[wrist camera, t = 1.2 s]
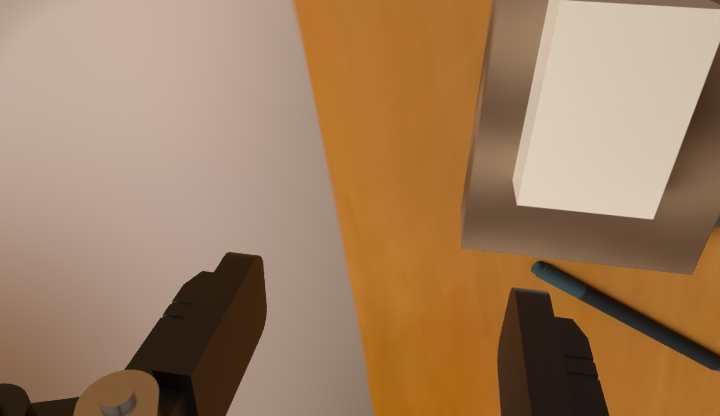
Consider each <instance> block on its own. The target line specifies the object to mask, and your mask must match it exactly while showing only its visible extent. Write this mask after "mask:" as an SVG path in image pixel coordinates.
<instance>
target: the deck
mask: <svg viewBox="0 0 720 416" xmlns="http://www.w3.org/2000/svg"><path fill="white" fill-rule="evenodd" d="M711 1H713V2H715V3H717V4H719V5H720V0H711ZM548 2H549V0H493V1H492V7H491V14H490V21H489V27H488V34H487V41H486V47H485V54H484V61H483V67H482V74H481V80H480V87H479V94H478V100H477V107H476V114H475V120H474V127H473V134H472V140H471V147H470V154H469V160H468V167H467V173H466V180H465V187H464V193H463V200H462V207H461V248H463V249H472V250H480V251H489V252H497V253H506V254H515V255H523V256H532V257H540V258H549V259H558V260H566V261H575V262H583V263H592V264H601V265H609V266H618V267H626V268H635V269H644V270H652V271H661V272H669V273H678V274H687V275H692V274H693V272H694V270H695V268H696V265H697V263H698V261H699V259H700V256H701V254H702V252H703V250H704V247H705V245H706V243H707V241H708V238H709V236H710V234H711V232H712V230H713V227H714V225H715V223H716V221H717V218H718V216H719V214H720V43H719V45H718V48H717V51H716V53H715V56H714V59H713V61H712V64H711V67H710V69H709V72H708V75H707V77H706V80H705V83H704V85H703V88H702V91H701V93H700V96H699V99H698V101H697V104H696V107H695V109H694V112H693V115H692V117H691V120H690V123H689V125H688V128H687V131H686V133H685V136H684V139H683V141H682V144H681V147H680V149H679V152H678V155H677V157H676V160H675V163H674V165H673V168H672V171H671V174H670V176H669V179H668V182H667V184H666V187H665V190H664V192H663V195H662V198H661V200H660V203H659V206H658V208H657V211H656V214H655V216H654V219H644V218H634V217H625V216H615V215H606V214H596V213H587V212H577V211H568V210H558V209H549V208H539V207H530V206H520V205H517V203H516V197H515V192H514V186H513V175H514V170H515V165H516V160H517V155H518V150H519V145H520V140H521V135H522V130H523V126H524V121H525V116H526V111H527V106H528V101H529V96H530V91H531V86H532V81H533V76H534V71H535V66H536V61H537V56H538V51H539V47H540V42H541V37H542V32H543V27H544V22H545V17H546V12H547V7H548Z"/></svg>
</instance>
